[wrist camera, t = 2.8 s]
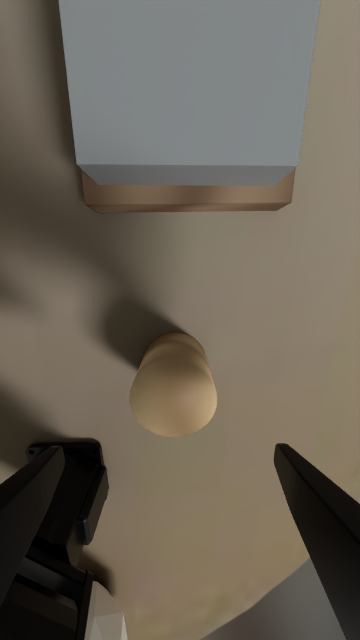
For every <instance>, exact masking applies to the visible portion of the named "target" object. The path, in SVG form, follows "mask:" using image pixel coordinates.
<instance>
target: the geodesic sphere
mask: <svg viewBox="0 0 360 640" xmlns="http://www.w3.org/2000/svg"><path fill="white" fill-rule="evenodd" d="M84 640H127V634H126V628H125V622H124V616H123V612H122V611H121V609H120V608H119V606H118V605H117V603H116V602H115V601H114V599H113V598H112V596H111V595H110V594H109V592H108V591H107V589H106V588H104V587H103V586H102V585H101V584H99V583H98V582H97V581H93V585H92V592H91V599H90V605H89V612H88V619H87V626H86V633H85V639H84Z"/></svg>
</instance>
